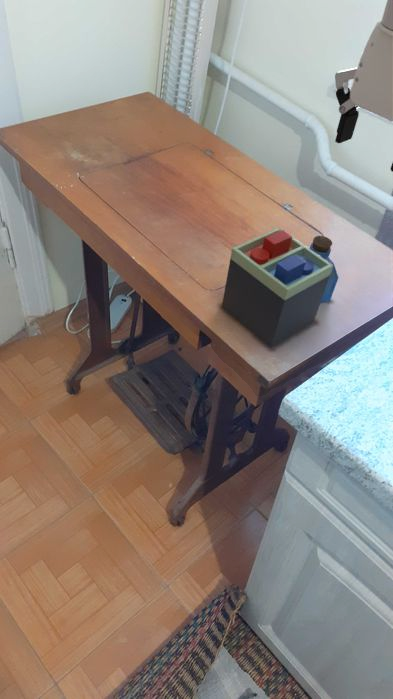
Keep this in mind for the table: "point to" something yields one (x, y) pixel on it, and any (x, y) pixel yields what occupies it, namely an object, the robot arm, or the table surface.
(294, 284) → the organiser
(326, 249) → the perfume bottle
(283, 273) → the blue block
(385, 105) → the robot arm
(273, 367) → the table surface
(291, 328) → the riser
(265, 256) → the red block with cylinder
